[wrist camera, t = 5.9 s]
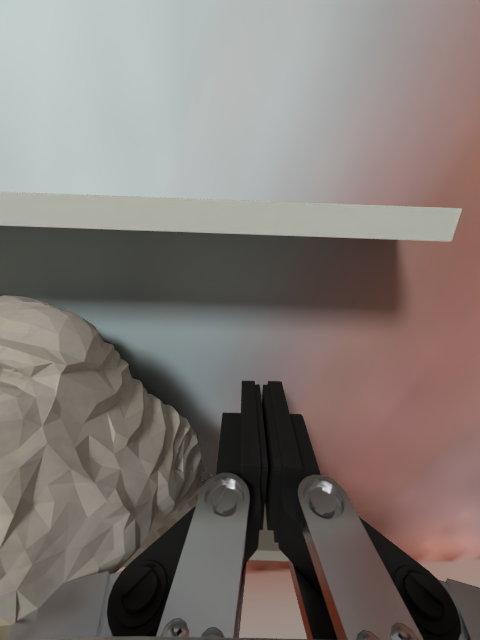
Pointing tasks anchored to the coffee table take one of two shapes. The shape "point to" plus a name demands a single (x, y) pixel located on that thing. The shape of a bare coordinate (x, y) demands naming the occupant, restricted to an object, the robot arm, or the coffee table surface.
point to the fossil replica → (79, 457)
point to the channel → (230, 232)
